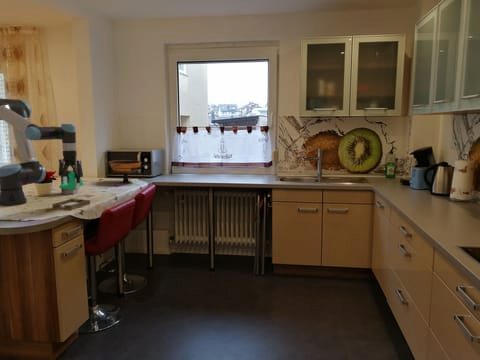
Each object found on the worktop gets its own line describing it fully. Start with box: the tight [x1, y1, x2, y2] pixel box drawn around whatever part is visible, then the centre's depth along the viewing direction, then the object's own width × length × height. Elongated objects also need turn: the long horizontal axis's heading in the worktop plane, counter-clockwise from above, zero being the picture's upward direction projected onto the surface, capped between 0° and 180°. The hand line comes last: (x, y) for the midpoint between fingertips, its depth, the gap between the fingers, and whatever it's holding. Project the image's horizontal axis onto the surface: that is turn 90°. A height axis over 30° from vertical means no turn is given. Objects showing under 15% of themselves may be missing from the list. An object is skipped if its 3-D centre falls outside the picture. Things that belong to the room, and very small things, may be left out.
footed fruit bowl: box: [106, 159, 145, 185], centre depth 310 cm, size 36×26×18 cm
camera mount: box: [58, 172, 84, 190], centre depth 223 cm, size 12×8×10 cm, turn 165°
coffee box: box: [60, 169, 79, 195], centre depth 261 cm, size 9×6×16 cm
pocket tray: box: [52, 198, 91, 211], centre depth 225 cm, size 13×17×2 cm
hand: (71, 187), depth 224 cm, fingers closed on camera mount, 8 cm apart
